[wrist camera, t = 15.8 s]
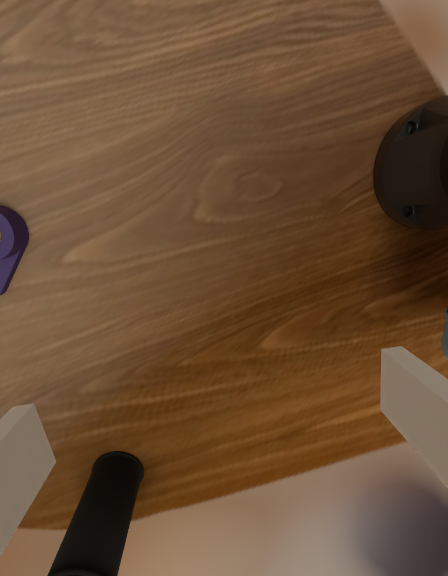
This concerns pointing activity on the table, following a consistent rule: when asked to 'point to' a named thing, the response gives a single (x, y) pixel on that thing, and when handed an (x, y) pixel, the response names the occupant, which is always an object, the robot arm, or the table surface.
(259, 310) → the table surface
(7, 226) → the lever
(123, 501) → the aerosol can
